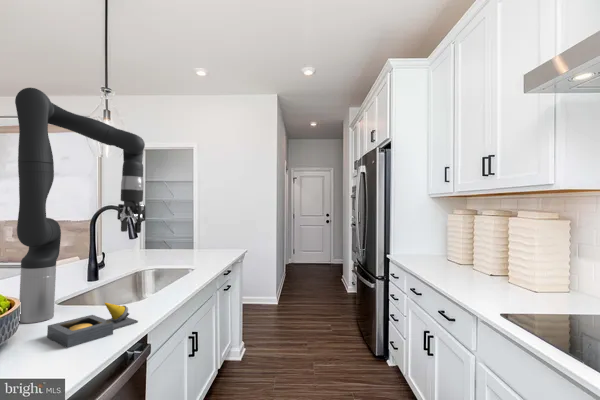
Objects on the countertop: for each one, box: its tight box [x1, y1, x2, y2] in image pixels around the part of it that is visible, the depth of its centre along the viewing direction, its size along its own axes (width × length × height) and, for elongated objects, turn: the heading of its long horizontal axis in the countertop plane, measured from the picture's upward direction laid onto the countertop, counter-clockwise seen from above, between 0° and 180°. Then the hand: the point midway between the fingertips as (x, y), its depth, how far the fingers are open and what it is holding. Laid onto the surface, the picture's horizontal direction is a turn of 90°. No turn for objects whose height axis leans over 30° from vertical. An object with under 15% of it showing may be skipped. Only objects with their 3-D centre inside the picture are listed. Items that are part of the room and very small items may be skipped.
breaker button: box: [69, 324, 92, 331], centre depth 96 cm, size 6×6×2 cm
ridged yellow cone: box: [104, 302, 130, 322], centre depth 107 cm, size 5×5×10 cm
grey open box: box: [46, 314, 114, 349], centre depth 96 cm, size 12×12×4 cm
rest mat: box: [106, 316, 139, 331], centre depth 107 cm, size 9×9×1 cm
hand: (130, 232), depth 125 cm, fingers open, 8 cm apart
